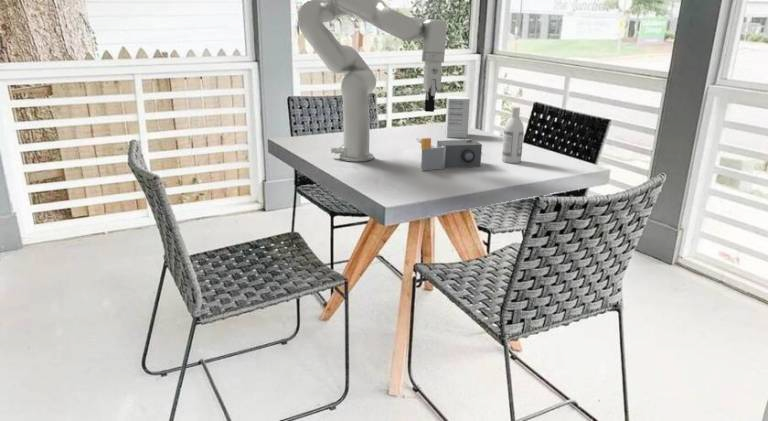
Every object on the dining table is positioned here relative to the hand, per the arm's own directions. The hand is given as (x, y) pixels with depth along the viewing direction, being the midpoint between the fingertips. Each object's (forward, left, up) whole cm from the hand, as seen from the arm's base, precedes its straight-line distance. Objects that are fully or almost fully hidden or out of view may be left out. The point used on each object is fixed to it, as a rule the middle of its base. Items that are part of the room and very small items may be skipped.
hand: (429, 111), depth 207 cm
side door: (0, -8, -19) cm, 21 cm away
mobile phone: (+12, +15, -20) cm, 27 cm away
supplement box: (+25, +47, -19) cm, 56 cm away
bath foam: (+32, 0, -19) cm, 37 cm away
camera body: (+11, -2, -19) cm, 22 cm away
